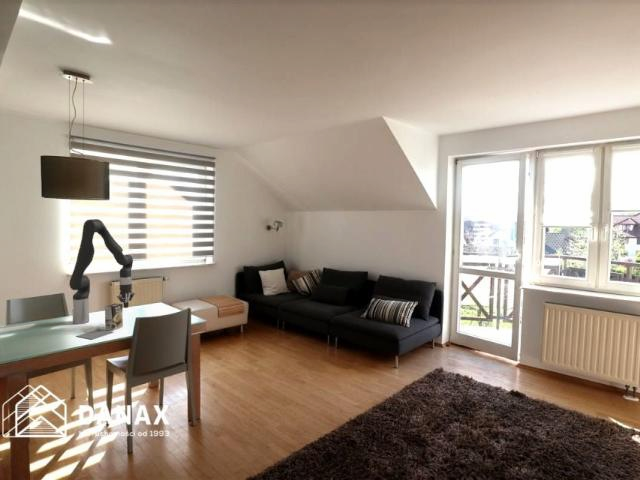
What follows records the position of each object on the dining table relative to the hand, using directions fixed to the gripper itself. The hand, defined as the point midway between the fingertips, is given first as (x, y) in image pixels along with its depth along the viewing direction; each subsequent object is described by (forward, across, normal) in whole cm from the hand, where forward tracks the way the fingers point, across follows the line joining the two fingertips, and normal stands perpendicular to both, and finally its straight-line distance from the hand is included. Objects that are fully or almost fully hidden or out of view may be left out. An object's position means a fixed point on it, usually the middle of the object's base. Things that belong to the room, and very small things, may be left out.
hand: (126, 307), depth 248 cm
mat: (+12, +23, 0) cm, 26 cm away
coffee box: (+12, +10, 0) cm, 16 cm away
